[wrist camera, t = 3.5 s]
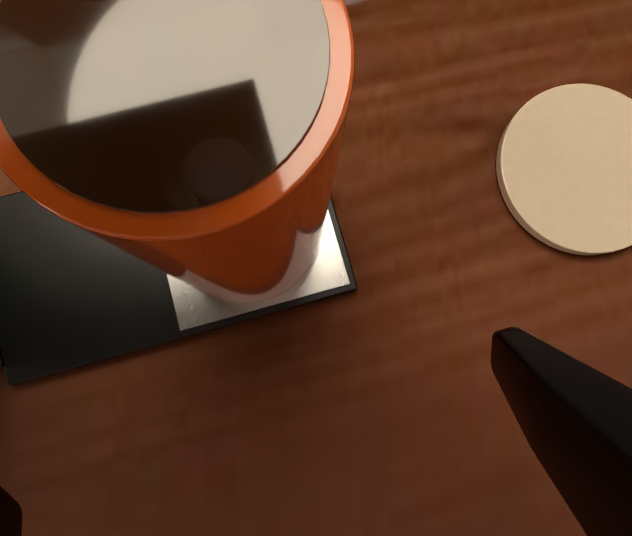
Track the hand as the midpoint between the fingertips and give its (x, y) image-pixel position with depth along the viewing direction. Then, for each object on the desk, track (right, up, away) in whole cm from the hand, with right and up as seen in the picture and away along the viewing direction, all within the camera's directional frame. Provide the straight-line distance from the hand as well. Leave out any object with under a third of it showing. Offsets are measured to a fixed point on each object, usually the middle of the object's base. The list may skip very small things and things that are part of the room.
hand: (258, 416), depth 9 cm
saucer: (+13, +7, +14) cm, 21 cm away
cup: (-2, +5, +13) cm, 14 cm away
